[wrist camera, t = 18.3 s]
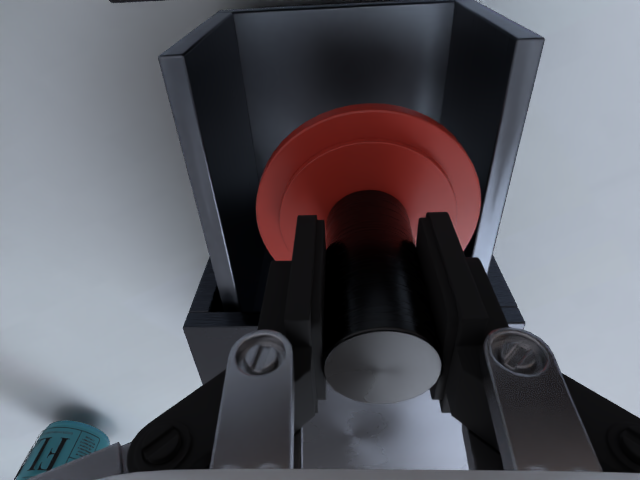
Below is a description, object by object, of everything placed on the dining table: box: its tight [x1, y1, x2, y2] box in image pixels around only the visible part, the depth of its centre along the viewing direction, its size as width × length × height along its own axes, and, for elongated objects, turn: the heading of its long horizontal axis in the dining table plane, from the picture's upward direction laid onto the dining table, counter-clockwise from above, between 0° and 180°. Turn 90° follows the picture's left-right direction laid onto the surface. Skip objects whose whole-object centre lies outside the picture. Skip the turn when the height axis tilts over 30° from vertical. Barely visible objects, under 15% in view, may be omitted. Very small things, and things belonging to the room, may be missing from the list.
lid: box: [256, 103, 481, 404], centre depth 12 cm, size 7×7×6 cm
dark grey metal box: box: [183, 254, 525, 470], centre depth 26 cm, size 17×14×11 cm
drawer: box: [109, 0, 545, 312], centre depth 17 cm, size 22×13×9 cm, turn 3°
